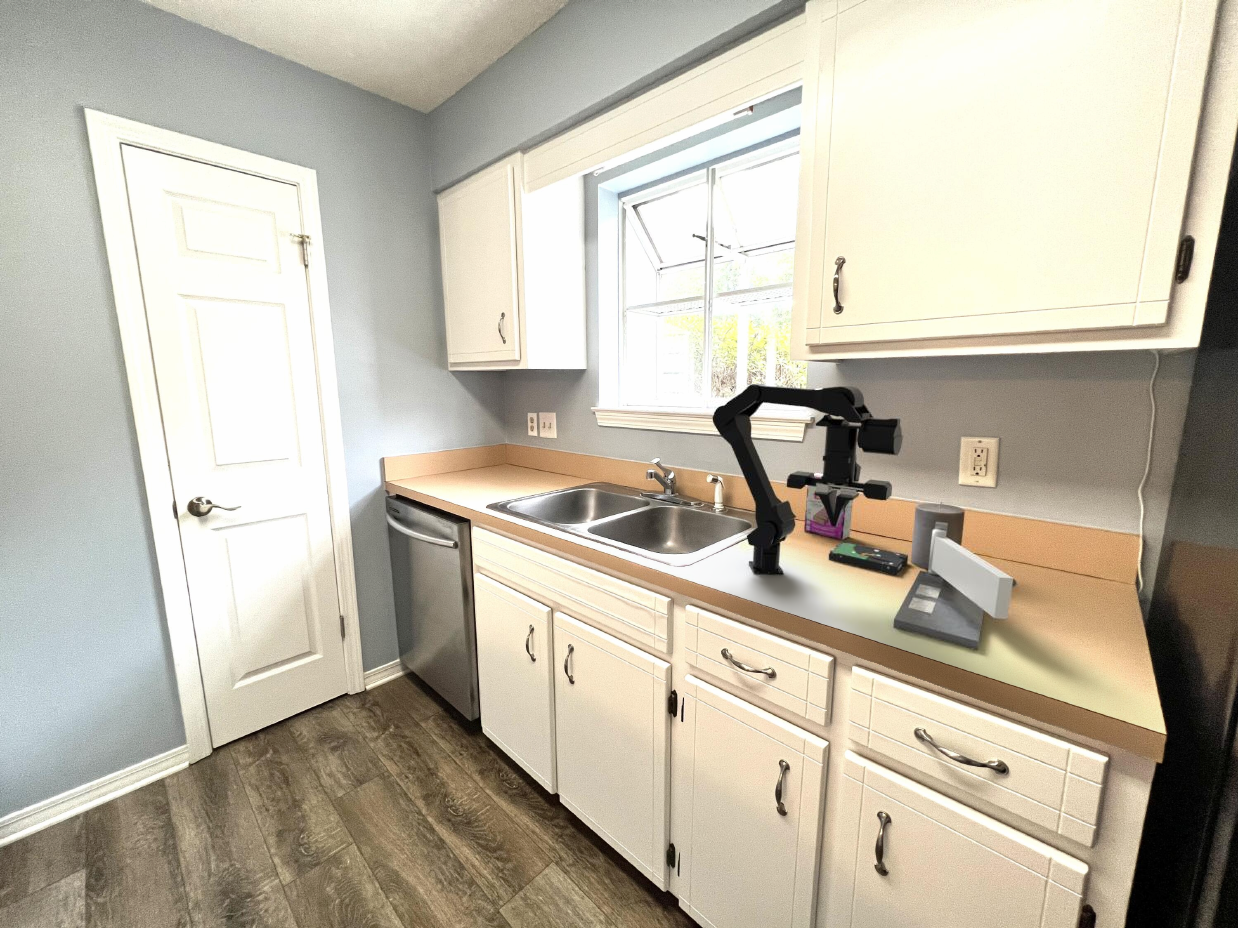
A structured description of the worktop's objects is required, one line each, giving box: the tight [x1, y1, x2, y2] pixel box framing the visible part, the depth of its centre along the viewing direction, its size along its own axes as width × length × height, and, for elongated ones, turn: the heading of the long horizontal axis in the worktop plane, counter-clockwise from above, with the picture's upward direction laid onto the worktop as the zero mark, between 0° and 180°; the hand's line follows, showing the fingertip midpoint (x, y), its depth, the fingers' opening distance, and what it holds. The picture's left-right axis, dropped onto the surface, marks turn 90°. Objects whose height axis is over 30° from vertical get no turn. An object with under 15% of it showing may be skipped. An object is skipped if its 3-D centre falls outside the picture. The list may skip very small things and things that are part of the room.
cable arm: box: [927, 529, 1017, 620], centre depth 93 cm, size 24×4×9 cm, turn 172°
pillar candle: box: [910, 502, 966, 570], centre depth 116 cm, size 10×10×15 cm
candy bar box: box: [803, 473, 854, 541], centre depth 138 cm, size 11×5×16 cm, turn 43°
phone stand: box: [892, 522, 985, 651], centre depth 94 cm, size 12×29×13 cm, turn 142°
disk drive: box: [828, 541, 909, 577], centre depth 119 cm, size 10×3×15 cm
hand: (834, 526), depth 102 cm, fingers closed
